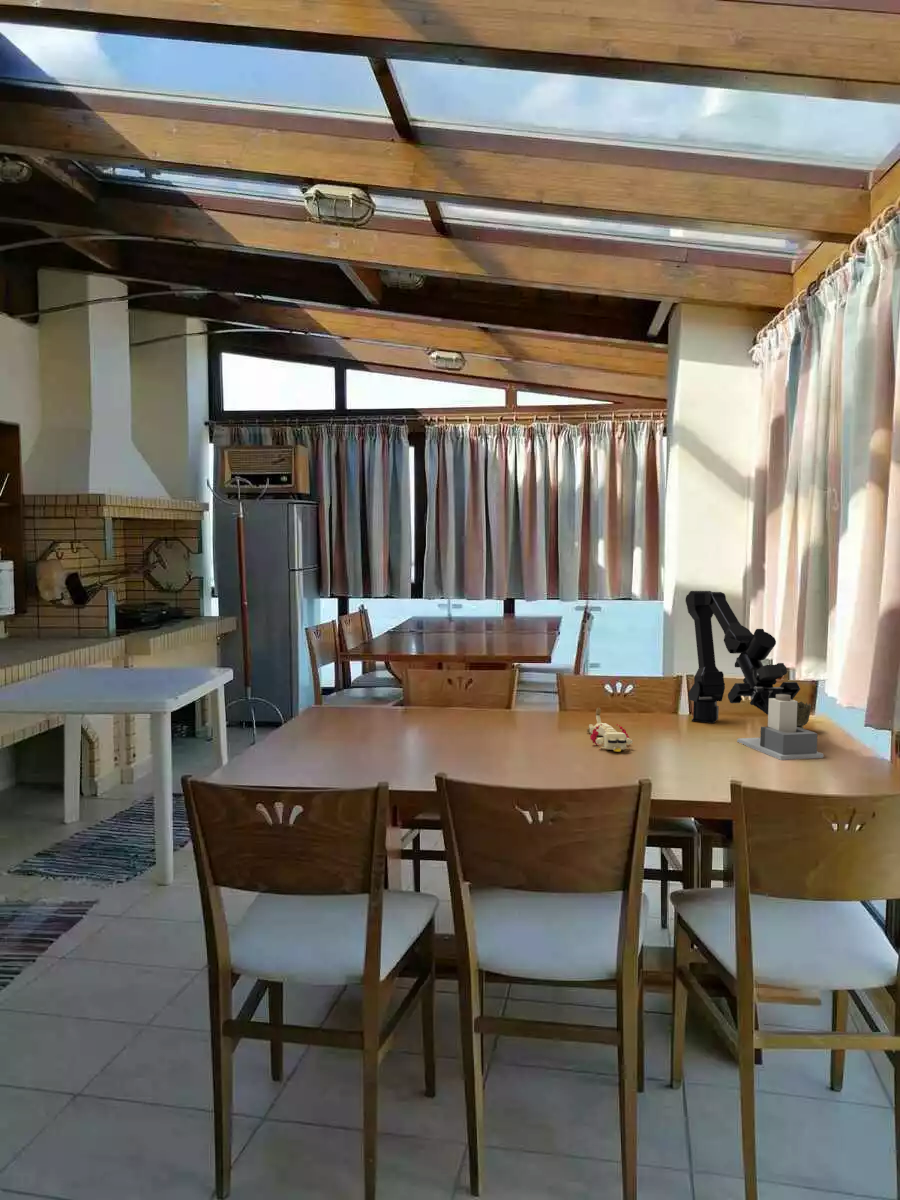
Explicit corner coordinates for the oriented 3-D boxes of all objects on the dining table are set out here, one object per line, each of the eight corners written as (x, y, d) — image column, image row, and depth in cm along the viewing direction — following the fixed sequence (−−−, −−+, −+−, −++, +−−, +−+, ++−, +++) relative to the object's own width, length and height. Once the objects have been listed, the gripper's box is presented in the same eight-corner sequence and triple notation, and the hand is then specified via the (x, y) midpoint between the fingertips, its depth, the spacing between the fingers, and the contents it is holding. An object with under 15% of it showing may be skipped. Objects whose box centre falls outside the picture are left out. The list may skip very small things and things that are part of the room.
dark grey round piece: (806, 728, 263) (807, 701, 262) (813, 733, 255) (814, 705, 255) (779, 727, 263) (780, 700, 263) (786, 732, 256) (787, 705, 255)
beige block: (767, 743, 235) (768, 693, 235) (784, 743, 237) (786, 693, 236) (778, 748, 231) (780, 697, 230) (795, 747, 232) (797, 696, 231)
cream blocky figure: (579, 738, 252) (599, 752, 227) (579, 707, 252) (599, 717, 227) (614, 738, 252) (638, 752, 227) (614, 707, 253) (638, 717, 228)
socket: (737, 742, 243) (737, 720, 243) (776, 740, 246) (777, 718, 245) (780, 759, 224) (781, 735, 223) (823, 757, 226) (824, 734, 226)
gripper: (734, 653, 238) (756, 701, 228) (797, 651, 242) (821, 699, 232) (718, 678, 246) (739, 726, 236) (779, 676, 250) (802, 724, 240)
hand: (775, 718), depth 236 cm, fingers closed, pressing on beige block
